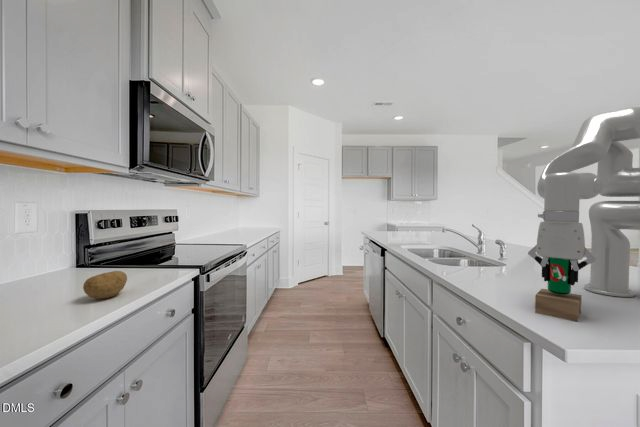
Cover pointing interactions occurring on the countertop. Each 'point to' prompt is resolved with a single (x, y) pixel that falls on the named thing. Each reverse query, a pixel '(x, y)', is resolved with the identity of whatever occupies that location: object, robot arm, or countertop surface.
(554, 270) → the soda can
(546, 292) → the walnut block
